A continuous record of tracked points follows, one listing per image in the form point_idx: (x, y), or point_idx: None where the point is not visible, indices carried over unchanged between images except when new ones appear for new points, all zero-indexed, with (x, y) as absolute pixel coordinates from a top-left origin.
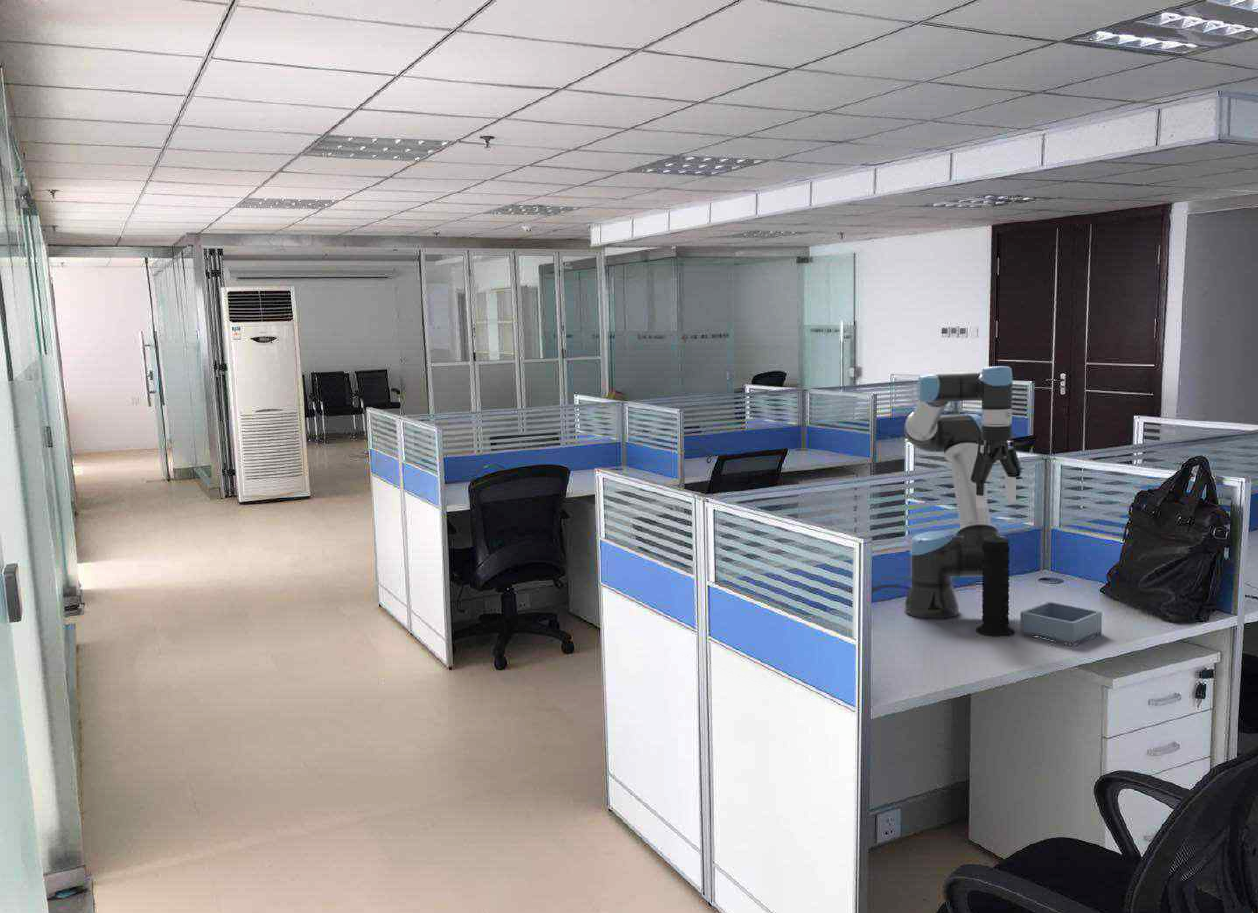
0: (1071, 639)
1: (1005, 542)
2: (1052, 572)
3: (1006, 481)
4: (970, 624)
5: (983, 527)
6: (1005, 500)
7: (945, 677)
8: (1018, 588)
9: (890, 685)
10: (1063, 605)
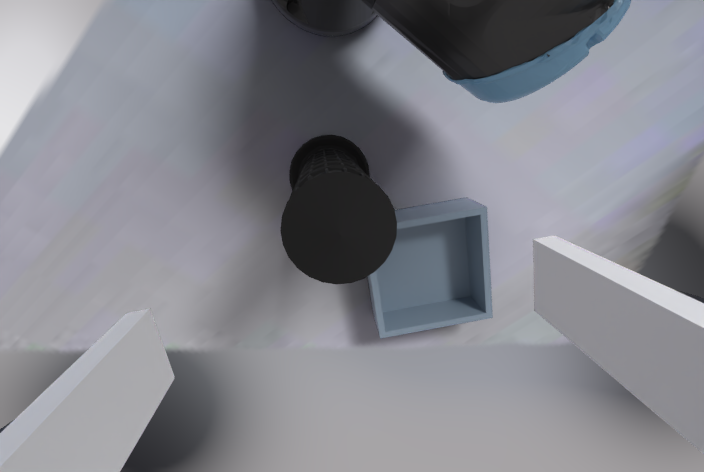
0: (374, 317)
1: (336, 281)
2: None
3: (675, 334)
4: (326, 105)
5: None
6: (534, 243)
7: (46, 314)
8: None
9: None
10: (482, 244)
